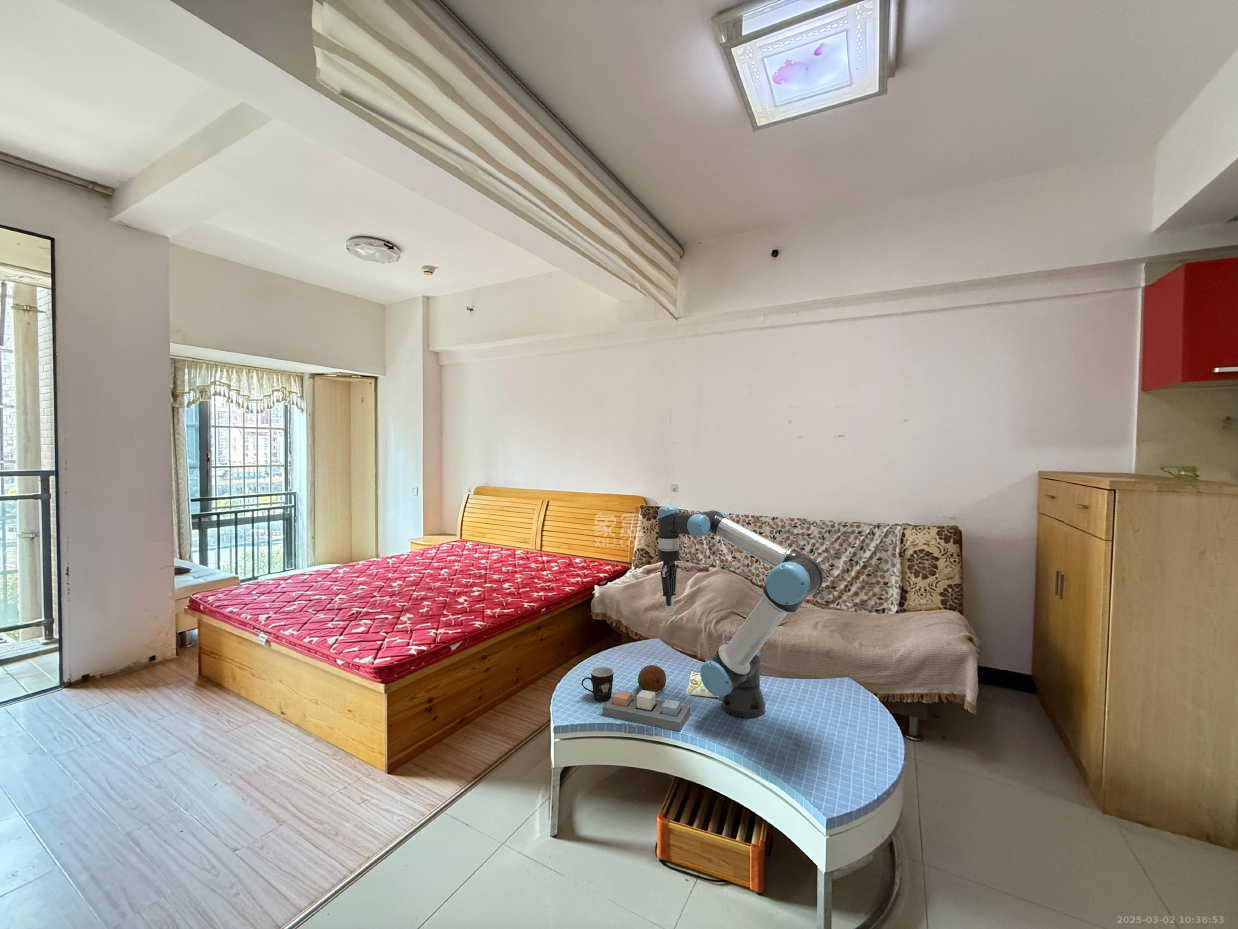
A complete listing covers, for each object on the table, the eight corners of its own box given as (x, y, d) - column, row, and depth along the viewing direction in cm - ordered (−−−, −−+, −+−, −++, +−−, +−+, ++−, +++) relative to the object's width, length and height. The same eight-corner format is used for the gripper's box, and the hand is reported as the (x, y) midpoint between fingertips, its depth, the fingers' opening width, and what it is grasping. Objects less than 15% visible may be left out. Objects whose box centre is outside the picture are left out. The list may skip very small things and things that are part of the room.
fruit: (644, 701, 185) (644, 674, 185) (630, 687, 197) (629, 662, 197) (672, 694, 190) (672, 668, 190) (656, 681, 201) (656, 656, 201)
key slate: (680, 713, 172) (680, 702, 172) (676, 720, 168) (675, 708, 168) (666, 710, 174) (666, 699, 174) (661, 717, 170) (661, 705, 170)
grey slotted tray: (690, 714, 175) (690, 706, 175) (680, 731, 164) (680, 722, 164) (616, 700, 186) (616, 692, 186) (602, 715, 175) (602, 706, 175)
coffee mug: (615, 693, 192) (614, 667, 192) (612, 704, 183) (612, 676, 183) (585, 692, 193) (584, 666, 193) (581, 703, 184) (580, 675, 184)
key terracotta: (631, 704, 180) (631, 692, 180) (626, 710, 175) (626, 699, 175) (619, 701, 182) (618, 690, 182) (613, 707, 177) (613, 696, 177)
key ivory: (655, 703, 176) (655, 692, 176) (650, 710, 171) (650, 698, 171) (642, 701, 178) (642, 689, 178) (636, 707, 174) (636, 695, 174)
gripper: (664, 545, 191) (665, 608, 191) (653, 551, 179) (653, 617, 179) (683, 547, 188) (684, 610, 188) (673, 552, 176) (674, 620, 176)
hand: (669, 613), depth 184 cm, fingers closed
